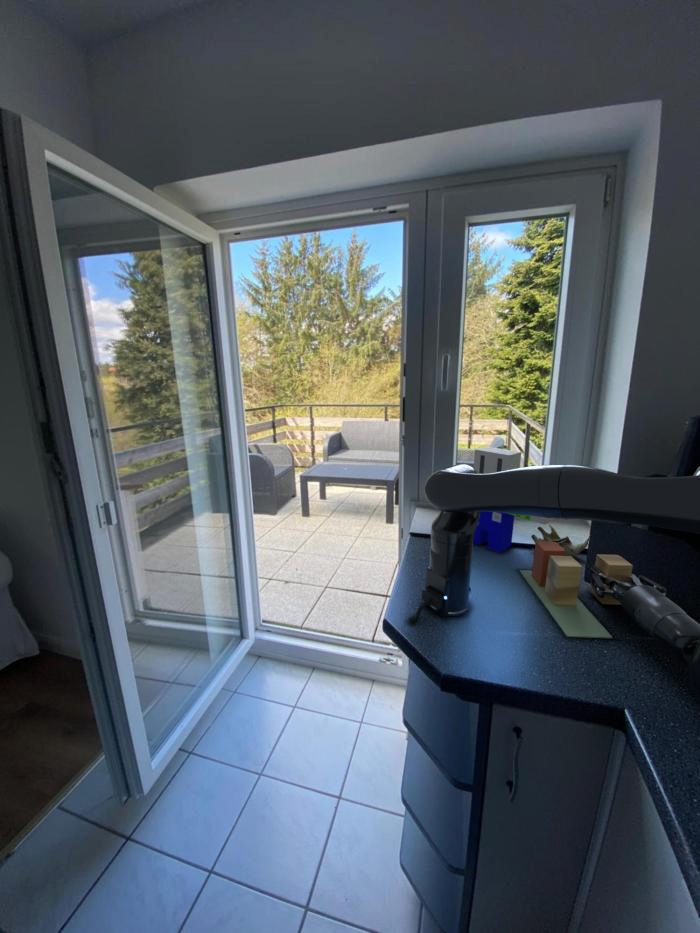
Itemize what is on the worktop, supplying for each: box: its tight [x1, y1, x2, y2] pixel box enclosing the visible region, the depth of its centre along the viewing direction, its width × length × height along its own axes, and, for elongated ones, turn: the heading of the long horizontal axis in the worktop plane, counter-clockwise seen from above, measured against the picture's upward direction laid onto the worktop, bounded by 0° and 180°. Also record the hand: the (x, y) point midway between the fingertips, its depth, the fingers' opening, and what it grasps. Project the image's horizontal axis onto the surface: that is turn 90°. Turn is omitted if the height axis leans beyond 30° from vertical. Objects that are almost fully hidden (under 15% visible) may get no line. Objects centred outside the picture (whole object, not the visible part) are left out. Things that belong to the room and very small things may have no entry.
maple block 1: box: [544, 556, 583, 606], centre depth 87 cm, size 5×5×10 cm
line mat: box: [519, 569, 613, 639], centre depth 89 cm, size 26×9×1 cm, turn 176°
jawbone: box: [530, 524, 589, 557], centre depth 109 cm, size 9×15×10 cm
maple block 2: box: [590, 553, 634, 606], centre depth 87 cm, size 5×5×10 cm
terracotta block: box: [531, 542, 565, 587], centre depth 95 cm, size 5×5×10 cm
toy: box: [473, 446, 556, 553], centre depth 114 cm, size 34×7×30 cm, turn 40°
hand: (604, 569), depth 89 cm, fingers closed on maple block 2, 5 cm apart
